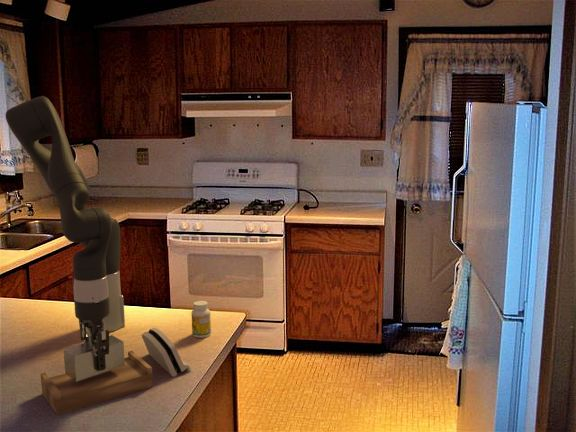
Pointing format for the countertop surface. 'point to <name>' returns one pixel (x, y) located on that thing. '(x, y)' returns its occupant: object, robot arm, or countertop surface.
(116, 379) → the stand
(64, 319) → the countertop surface
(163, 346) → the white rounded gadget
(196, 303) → the supplement bottle
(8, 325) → the countertop surface
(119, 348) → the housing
